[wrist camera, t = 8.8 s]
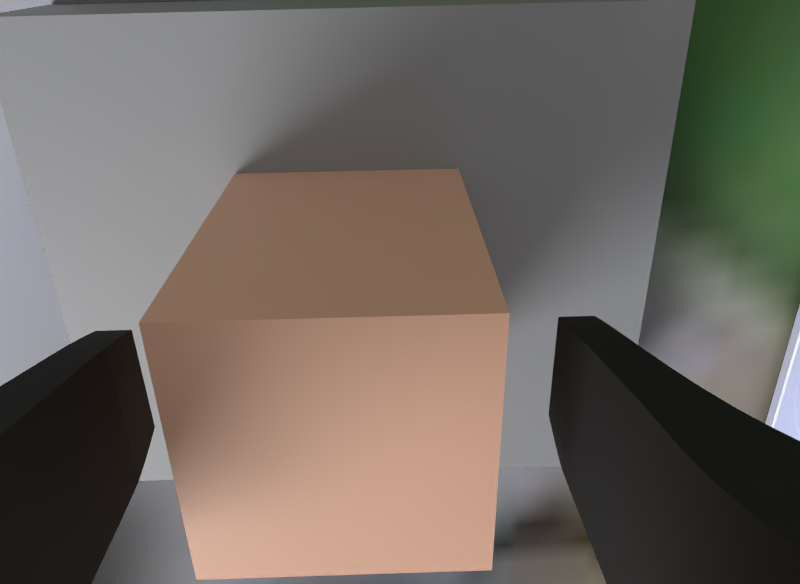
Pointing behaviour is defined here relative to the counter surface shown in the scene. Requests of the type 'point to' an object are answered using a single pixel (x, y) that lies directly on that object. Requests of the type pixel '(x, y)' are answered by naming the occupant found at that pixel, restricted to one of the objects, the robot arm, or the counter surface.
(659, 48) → the plinth
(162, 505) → the counter surface
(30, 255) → the counter surface
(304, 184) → the terracotta block
